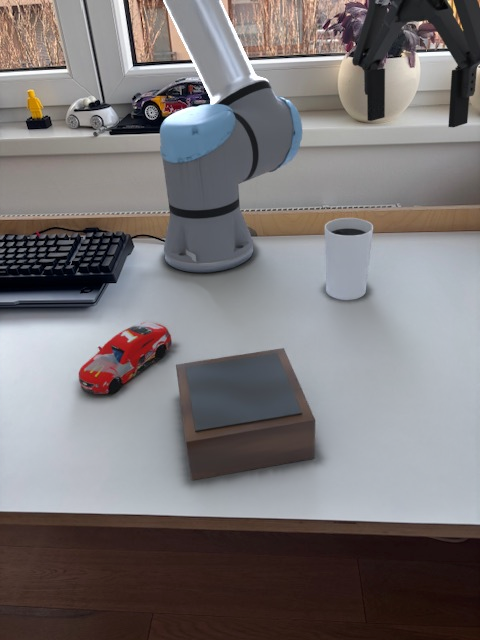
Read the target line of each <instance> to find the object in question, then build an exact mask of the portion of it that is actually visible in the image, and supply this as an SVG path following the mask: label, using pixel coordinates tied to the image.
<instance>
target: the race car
mask: <svg viewBox="0 0 480 640" xmlns="http://www.w3.org/2000/svg"><path fill="white" fill-rule="evenodd" d="M172 341H173V340H172V335H171V333H170V331H169V329H168V328H167V327H166V326H165V325H162V324H159V323H157V322H154V321H145V322H141V323H138V324H135V325H133V326H130V327H127V328H126V329H124V330H122V331H121V332H119V333H117V334H115V335H114V336H113V337H112V338H111V339H109V340H108V341H107V342H106V343H104V345H103V346H101V345H99V346H98V347H97V348H98V351H97V353H96V354H95V355H93V356H92V357H91V358H90V359H88V360H87V362H85V363H84V364H83V365H81V367H80V369H79V370H78V382H79V385H80V388H81V389H82V390H83V391H84V392H87V393H89V394H94V395H104V394H105V395H106V394H109V393H110V394H115V393H117V392H118V391H119V390H120V389H121V387H122V384H123V385H125V384H126V383H127V382H129V381H130V380H131V379H132V378H134V377H135V376H136V375H138V374H139V373H141V372H142V371H143V370H145V368H147V367H149V365H151V364H152V363H154V362H156V360H161V359H163V358H164V357H165V355H166V352H168V351H169V350H170V348H171V347H172Z"/></svg>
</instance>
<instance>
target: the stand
mask: <svg viewBox="0 0 480 640" xmlns="http://www.w3.org/2000/svg"><path fill="white" fill-rule="evenodd" d="M175 367H176V368H175V369H176V377H177V384H178V393H179V400H180V401H179V402H180V408H181V416H182V424H183V433H184V440H185V447H186V453H187V454H186V455H187V460H188V466H189V467H188V468H189V473H190V480H191V481H195V480H201V479H206V478H212V477H218V476H224V475H228V474H234V473H240V472H246V471H251V470H258V469H262V468H268V467H274V466H280V465H285V464H291V463H296V462H297V463H298V462H303V461H308V460H314V459H315V457H316V454H315V453H316V418H315V416H314V414H313V411H312V409H311V407H310V405H309V402H308V400H307V398H306V396H305V392H304V390H303V388H302V386H301V384H300V382H299V380H298V377H297V374H296V372H295V370H294V368H293V366H292V363H291V360H290V358H289V356H288V354H287V352H286V350H285V348H284V347H282V348H275V349H267V350H261V351H256V352H248V353H242V354H235V355H229V356H222V357H216V358H210V359H203V360H196V361H189V362H184V363H183V362H182V363H177V364H175Z"/></svg>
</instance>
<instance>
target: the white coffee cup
mask: <svg viewBox="0 0 480 640" xmlns="http://www.w3.org/2000/svg"><path fill="white" fill-rule="evenodd" d="M373 233H374V225H373V223H371V222H370V221H368V220H366V219H361V218H356V217H342V218H335V219H332V220H329V221H328V222H327V223H325V224H324V257H325V258H324V260H325V291H326V293H327V295H328V296H330V297H332V298H333V299H337V300H340V301H342V300H343V301H353V300H357V299H360V298H362V297H363V296H364V295H365V294H366V291H367V284H368V275H369V266H370V258H371V251H372V241H373Z"/></svg>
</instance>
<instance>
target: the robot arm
mask: <svg viewBox="0 0 480 640" xmlns="http://www.w3.org/2000/svg"><path fill="white" fill-rule="evenodd" d="M162 1H163V4H164V5H165V7H166V9H167V11H168V14H169V15H170V17H171V20H172V22H173V24H174V26H175V28H176V30H177V33H178V35H179V36H180V39H181V41H182V42H183V44H184V47H185V49H186V51H187V52H188V55H189V57H190V59H191V61H192V63H193V66H194V67H195V69H196V72H197V73H198V76H199V78H200V80H201V82H202V84H203V87H204V88H205V90H206V92H207V94H208V97H209V99H210V103H208V104H200V105H198V106H189V107H187V108H186V107H185V108H183V109H180V110H177V111H175V112H173V113H172V114H170V115H168V116H167V117H166V118H165V119H164V120H163V122H162V123H161V125H160V129H159V139H160V148H159V152H160V156H161V160H162V165H163V173H164V178H165V187H166V194H167V201H168V208H169V219H168V224H167V228H166V232H165V233H166V234H165V239H164V245H163V252H164V258H165V261H166V263H167V264H168V265H169V266H170V267H173V268H174V269H177V270H180V271H184V272H189V273H215V272H221V271H225V270H229V269H232V268H235V267H238V266H240V265H242V264H243V263H245V262H247V261H248V260H249V259H250V258H251V257H252V255H253V253H254V240H253V237H252V235H251V232H250V230H249V227H248V225H247V222H246V219H245V217H244V215H243V212H242V210H241V205H240V189H239V187H240V186H239V184H242V183H244V182H247V181H250V180H252V179H255V178H258V177H259V176H261V175H264V174H267V173H273V172H275V171H277V170H278V169H280V168H281V167H283V166H285V165H287V164H289V163H290V162H292V160H293V159H294V158H295V157H296V156H297V154H298V152H299V151H300V147H301V141H302V140H303V123H302V119H301V116H300V113H299V111H298V109H297V107H296V106H295V104H294V103H293V102H292V101H290V99H286V98H285V97H282V96H276V94H275V92H274V90H273V88H272V86H271V83H270V81H269V79H267V78H264V77H261V76H258V75H257V74H256V73H255V71H254V69H253V67H252V65H251V62H250V60H249V58H248V56H247V54H246V51H245V50H244V48H243V45H242V43H241V40H240V38H239V37H238V34H237V32H236V30H235V28H234V26H233V24H232V21H231V20H230V17H229V15H228V13H227V11H226V9H225V7H224V5H223V2H222V0H162ZM389 3H390V7H389ZM453 5H454V8H455V11H456V14H457V16H458V20H459V22H460V23H459V22H458V21H457V19H456V18H455V15H454V12H455V11H454V9H453V8H452V6H451V4H450V3H449V1H448V0H368V7H367V10H366V14H365V17H364V20H363V24H362V26H361V31H360V33H359V36H358V39H357V44H356V46H355V50H354V52H353V57H352V60H351V61H352V62H351V63H352V65H353V67H354V66H355V67H356V66H357V67H360V68H362V71H363V73H364V74H363V78H364V80H363V82H364V83H363V84H364V86H363V87H364V89H363V92H364V94H365V95H366V96H367V97H366V98H367V99H366V103H367V107H366V109H367V111H366V112H367V121H368V122H373V121H376V120H381V119H383V118H385V117H386V115H385V114H386V113H385V112H386V111H385V110H386V68H385V67H384V65H383V62H384V60H385V58H386V56H387V54H388V53H389V51H390V49H391V47H392V46H393V44H394V43H395V41H396V39H397V38H398V35H399V34H400V32H401V30H402V28H404V26H406V25H407V24H408V23H414V22H417V23H419V22H428V23H429V24H430V25H432V26H433V27H434V29H435V31H436V32H437V34H438V35H439V37H440V39H441V40H442V42H443V43H444V45H445V47H446V48H447V50H448V51H449V54H450V55H451V58H452V59H453V60H454V62H455V63H456V67H455V68H454V69H452V70H451V76H450V77H451V78H450V93H449V110H448V111H449V112H448V124H447V125H448V128H456V127H459V126H463V125H465V124H468V119H469V106H470V97H473V96H474V95H475V92H476V86H477V85H476V83H477V71H478V67H479V66H480V3H479V0H453ZM388 8H389V9H388ZM383 67H384V68H383Z"/></svg>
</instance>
